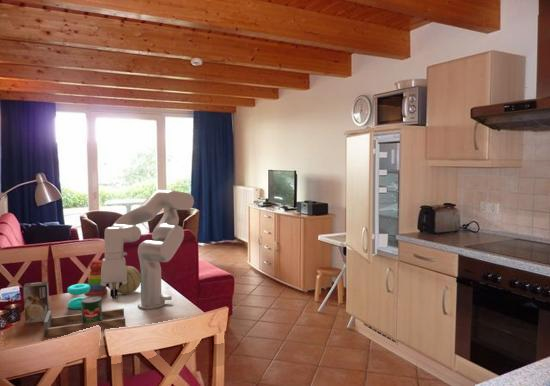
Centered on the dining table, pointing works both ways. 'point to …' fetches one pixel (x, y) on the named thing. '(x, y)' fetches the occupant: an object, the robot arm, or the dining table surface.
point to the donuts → (77, 290)
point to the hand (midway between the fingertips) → (114, 297)
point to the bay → (78, 318)
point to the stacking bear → (96, 280)
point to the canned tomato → (91, 309)
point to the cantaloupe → (130, 281)
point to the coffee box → (36, 301)
